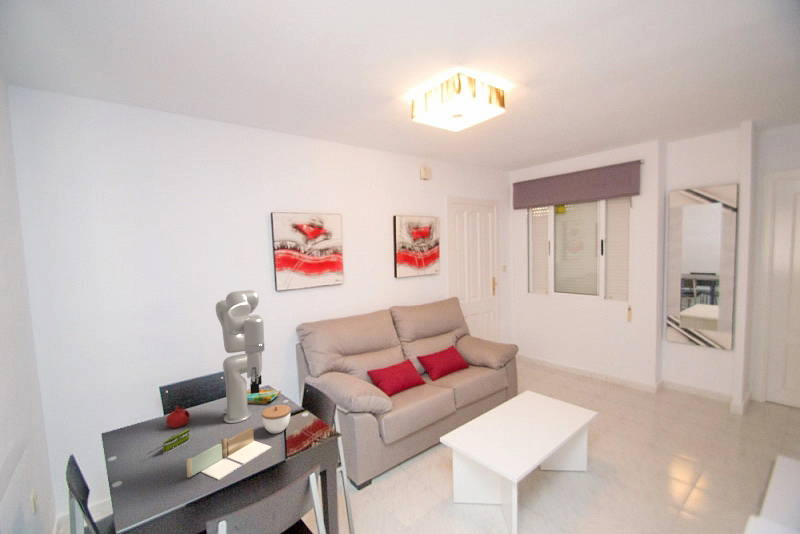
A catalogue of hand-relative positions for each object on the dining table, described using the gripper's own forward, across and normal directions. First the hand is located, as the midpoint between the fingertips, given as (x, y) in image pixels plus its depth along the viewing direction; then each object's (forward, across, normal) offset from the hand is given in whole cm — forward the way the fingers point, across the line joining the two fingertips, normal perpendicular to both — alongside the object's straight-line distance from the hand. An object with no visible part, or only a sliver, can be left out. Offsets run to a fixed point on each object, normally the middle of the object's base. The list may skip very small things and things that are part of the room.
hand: (256, 388), depth 145 cm
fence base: (+26, -3, -8) cm, 27 cm away
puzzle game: (+27, -56, -5) cm, 62 cm away
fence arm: (+26, +7, -19) cm, 32 cm away
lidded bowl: (+26, -16, +6) cm, 32 cm away
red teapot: (+26, -38, -40) cm, 61 cm away
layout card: (+26, 0, -11) cm, 28 cm away
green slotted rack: (+26, -14, -37) cm, 48 cm away
